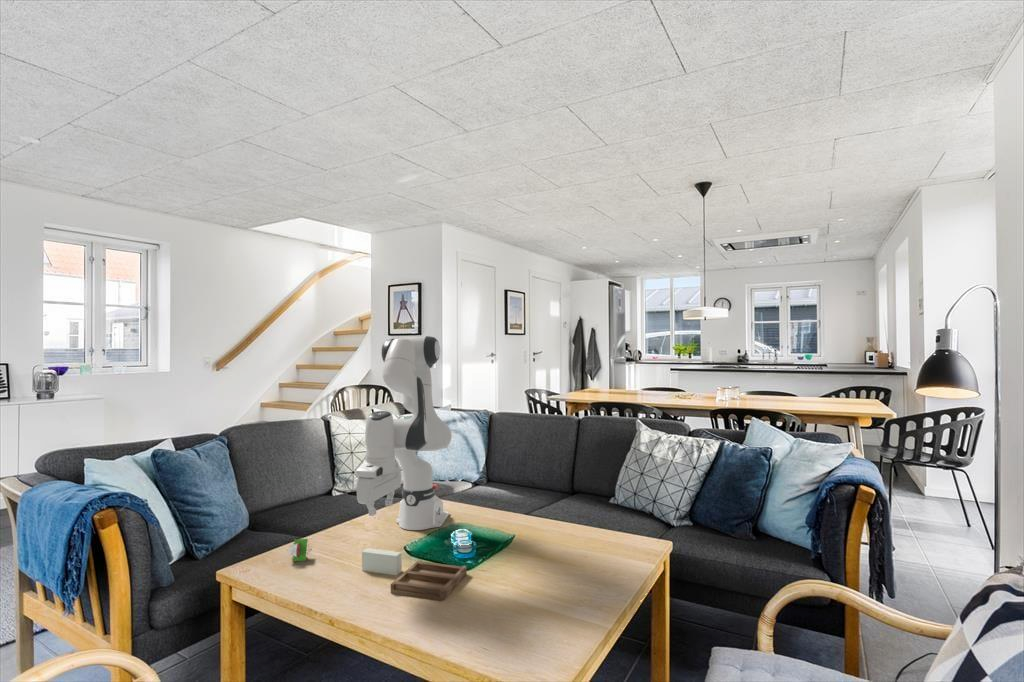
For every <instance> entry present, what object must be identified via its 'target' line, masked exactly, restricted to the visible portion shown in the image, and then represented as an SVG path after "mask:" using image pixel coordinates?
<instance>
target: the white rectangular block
mask: <svg viewBox="0 0 1024 682" xmlns="http://www.w3.org/2000/svg"><path fill="white" fill-rule="evenodd" d="M402 560H403V558H402V552H401V551H394V550H386V549H378V548H370V547H367V548H365V549H363V551H361V571H363V572H369V573H377V574H384V575H391V576H398V575H399V574H400V573H401V572H403V570H402V568H403V565H402Z"/></svg>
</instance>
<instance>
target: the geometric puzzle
mask: <svg viewBox="0 0 1024 682" xmlns="http://www.w3.org/2000/svg"><path fill="white" fill-rule="evenodd" d="M292 543H293V544H292V545H290V546H289V548H288V549H287V553H289V556H292V558H291V560H292V562H303V561H305V562H306V561H307V558H308V557H309V552H310V553H311V552H312V550H313V548H311V547H310V546H309V545H311V543H310V542H309V540H308V538H301V539H300V538H299V539H293V542H292ZM307 547H308V548H307ZM307 551H308V552H307Z"/></svg>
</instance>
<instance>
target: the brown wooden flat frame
mask: <svg viewBox="0 0 1024 682" xmlns="http://www.w3.org/2000/svg"><path fill="white" fill-rule="evenodd" d="M467 569H468V568H467V565H461V566H459V565H452V564H442V563H437V562H429V561H422V560H421V559H418V560H417V561H415V563H414V564H412V565H410V567H409V568H408V569H406V570H405V571H404V572H402V574H401V575H399V576H398V577H397V578H396V579H395V580H394V581H393V582H391V583H390V594H396V595H402V596H407V597H414V598H415V597H416V598H420V599H421V598H422V599H429V600H434V601H440V602H441V601H442V602H444V600H446V598H447V597H448V596H449V595H450V594H451V593H452V591H453V590H454V589H456V587H457V586H458V584H459V583H460V582H461V581H462V580H463V579H464V578H465V577H466V575H467Z"/></svg>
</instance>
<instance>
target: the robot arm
mask: <svg viewBox="0 0 1024 682" xmlns="http://www.w3.org/2000/svg"><path fill="white" fill-rule="evenodd" d="M440 354H441V346H440V344H439V341H438V339H437V338H436V337H434V336H429V335H428V336H415V335H414V336H408V337H400V338H390V339H387V340H386V341H385V342H384V343H383V344H382V346H381V358H382V361H383V369H382V379H383V381H384V383H385V385H386V386H388V388H390V390H392V391H394V392H397V393H400V394H402V405H403V408H404V409H405V410H407V411H408V412H410V413H411V414H412V417H410V418H393V413H392V412H390V411H387V410H376V411H374V412H371V413H369V414H368V415H367V417H366V423H365V431H364V435H365V436H364V437H365V439H364V440H365V441H364V444H365V446H366V451H365V456H364V457H365V460H364V461H363V463H362V464H361V465H360V466H359V467H358V468H357V469H356V471H355V476H356V477H358V478H357V481H356V500H357V502H358V504H361V505H366V508H367V509H368V516H371V517H374V516H375V515H377V508H375V506H374V505H375V504H376V503H375V502H376V501H377V500H379V499H381V498H383V497H385V496H386V499H385V500H384V503H385V506H386V507H391V506H393V499H394V495H395V494H396V493H395V491H396V490H397V489H400V488H401V486H402V482H403V487H402V490H401V494H402V495H401V497H402V499H401V500H400V502H399V510H398V511H399V512H398V518H396V519H395V523H397V524H398V525H399V527H400V528H401V529H404V530H408V531H423V530H429V529H433V528H440V527H442V526H443V525H444V523H445V521H446V520H447V518H448V517H449V515H450V512H449V511H447V510H445V509H444V502H443V500H442V499H441V498H439V497H438V496H437V495H436V490H438V488H439V487H438V484H436V483H434V484H433V474H434V473H433V472H434V471H433V466H432V465H431V463H429V461H427V460H425V459H422V458H420V457H419V456H418V455H417V452H432V451H433V452H436V451H439V450H440V451H441V450H444V449H447V448H448V447H449V445H450V444H451V442H452V438H453V437H452V434H453V433H452V430H451V428H450V426H449V425H448V424H447V423H446V422H445V421H443V420H442V419H441V418H440V417H439V416H438V414H437V413H436V410H435V407H434V403H433V401H434V400H433V386H432V385H433V383H432V381H433V380H432V371H431V368H432V367H433V366H434V365H435V364H436V363H437V362H438V361H439V359H440ZM396 458H397V460H396ZM398 461H399V462H398ZM399 464H400V465H401V467H400V466H399ZM401 471H402V473H401ZM402 479H403V481H402Z"/></svg>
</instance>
